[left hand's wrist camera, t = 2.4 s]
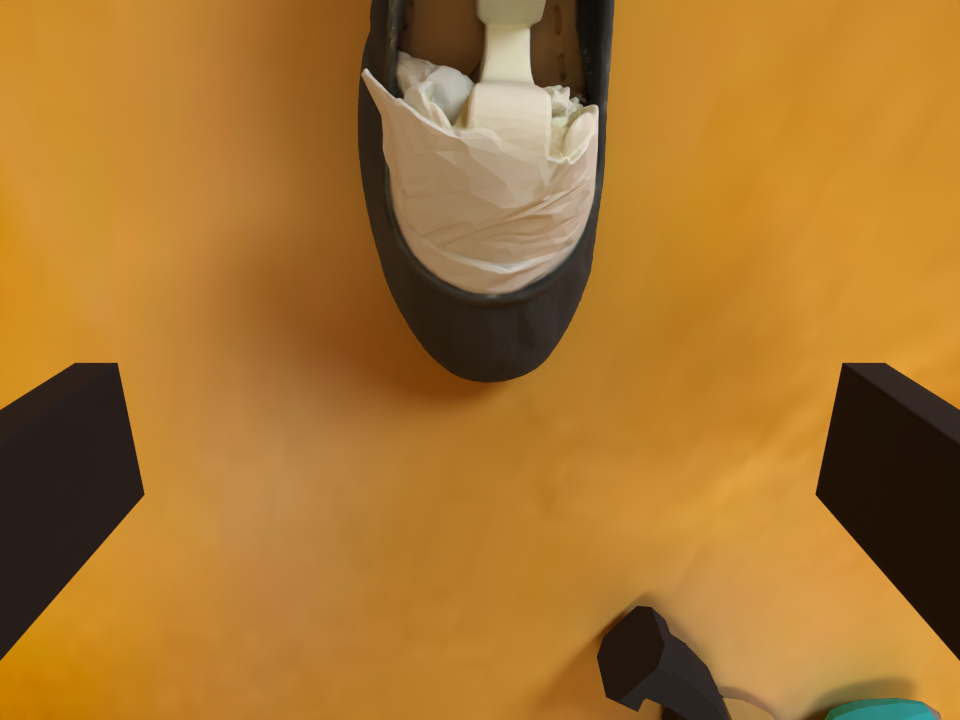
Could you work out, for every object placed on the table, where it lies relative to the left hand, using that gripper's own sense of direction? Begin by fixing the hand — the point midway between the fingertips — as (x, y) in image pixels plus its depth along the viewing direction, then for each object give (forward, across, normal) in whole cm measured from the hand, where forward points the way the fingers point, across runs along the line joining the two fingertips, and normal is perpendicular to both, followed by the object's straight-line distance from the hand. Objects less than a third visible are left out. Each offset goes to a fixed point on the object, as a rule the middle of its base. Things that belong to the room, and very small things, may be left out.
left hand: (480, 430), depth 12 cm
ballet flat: (+14, 0, -8) cm, 16 cm away
